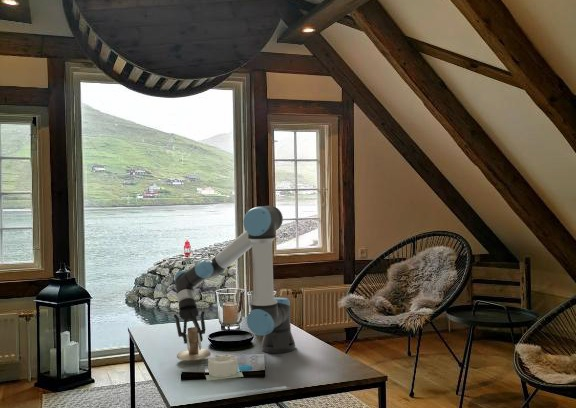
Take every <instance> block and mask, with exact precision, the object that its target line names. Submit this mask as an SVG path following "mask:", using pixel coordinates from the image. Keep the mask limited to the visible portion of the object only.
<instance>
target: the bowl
mask: <svg viewBox="0 0 576 408" xmlns="http://www.w3.org/2000/svg"><path fill="white" fill-rule="evenodd" d="M238 366H239V364H238V357H237V356H236V355H233V354H225V353H224V354H216V355H213V356H210V357H208V358H207V367H208V368H207V369H208V370H209V375H210V376H212V377H219V378H221V377H229V376H233V375H235V374H236V373H237V371H238Z"/></svg>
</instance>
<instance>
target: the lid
mask: <svg viewBox="0 0 576 408" xmlns="http://www.w3.org/2000/svg"><path fill="white" fill-rule="evenodd" d="M187 334H188V337H189V343H190V351H188V349H186V350H182V351H180V352H178V353H177V354H176V358H177V359H178V360H180V361H187V362H188V361H189V362H192V361H199V360H203V359H206V358H209V357H211V353H212V352H211V350H210V349H206V348H201V350H199V346H198V334H197V327H195V326H191V327H188V328H187Z"/></svg>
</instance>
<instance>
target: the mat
mask: <svg viewBox="0 0 576 408" xmlns="http://www.w3.org/2000/svg"><path fill="white" fill-rule="evenodd" d="M241 377H242V378H244V375H243V372H242V371H241V372H237V373H236V374H235V375H233V376H229V377H221V378H219V377H212V376H210V375H205V378H206V381H217V380H225V379H226V380H227V379H233V378H234V379H235V378H241Z"/></svg>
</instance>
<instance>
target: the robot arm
mask: <svg viewBox="0 0 576 408" xmlns="http://www.w3.org/2000/svg"><path fill="white" fill-rule="evenodd" d="M283 218H284V217H283V214H282V211H281V210H280V209H279V208H278V207H276V206H273V205H264V206H263V205H262V206H256V207H253V208H251V209H249V210H248V211H247V212H246V213H245V215H244V217H243V221H242V223H243V224H242V225H243V228H244V231H243V232H242V233H241V234H240V235H239V236H237V237H236V238H235V239H234V240H233V241H232V242H230V243H229V244H228V245H227V246H226V247H224V248H223V249H222V250H221V251H220V252H219V253H218V254H217V255H215V256H214V257H213V258H212V259H210V260H206V259H203V260H201V261H199V262H197V263H196V264H195V265H194V266H193V267H191V268H190V269H189V270H187V269H186V270H185V269H182V270H181V271H177V272H176V273H175V274H174V286H175V290H176V297H177V303H178V310H179V312H178V314H177V313H175V314H173V320H174V322H175V325H176V330H177V335H178V337H179V338H180V337H182V340H183V344H185V345H186V346H187V347H186V348H187V350H188V351H190V343H189V337H188V333H187V329H188V328H187V327H188V325H187V324H188V322H192V324H193V327H197V334H198V349H199V350H201V349H202V342H203V335H204V334H206V330H207V329H206V324H205V323H206V322H205V311H203V310H202V311H199V309H198V308H197V303H196V297H195V292H194V291H195V290H194V288H195V287H196V286H198V285H200V283H202V282H203V281H205V280H208V279H211V278H215V277H218V276H220V275H222V274H224V273H225V272H226V269H228V267H229V266H231V265H232V264H233V263H234V262H236V261H237V260H238V259H240V257H242V256H243V255H244V254H245V253H246V252H248V251H249V250H251V253H252V255H251V256H252V283H253V285H252V286H253V287H252V288H253V299H252V300H251V301H250V311H249V312H248V314H247V316H246V325H247V327H248V329H249V330H250V331H251V332H252V333H253V334H255V335H256V336H263V338H262V342H261V351H262V352H264V353H268V354H284V353H289V352H292V351H294V350H296V342H295V339H294V336H293V334H292V330H291V304H290V300H289V298H287V297H275V296H274V295H275V293H274V291H275V289H274V288H275V287H274V263H273V262H274V261H273V260H274V259H273V258H274V257H273V255H274V254H273V242H274V240H275V239H276V238H277V237H276V231H277V230H279V229H280V228H281V226H282V224H283V220H284V219H283ZM197 317H199V318H200V324H199V322H198V320H197ZM180 318H181V319H182V320H183V330H182V329H181V323H180Z"/></svg>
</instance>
